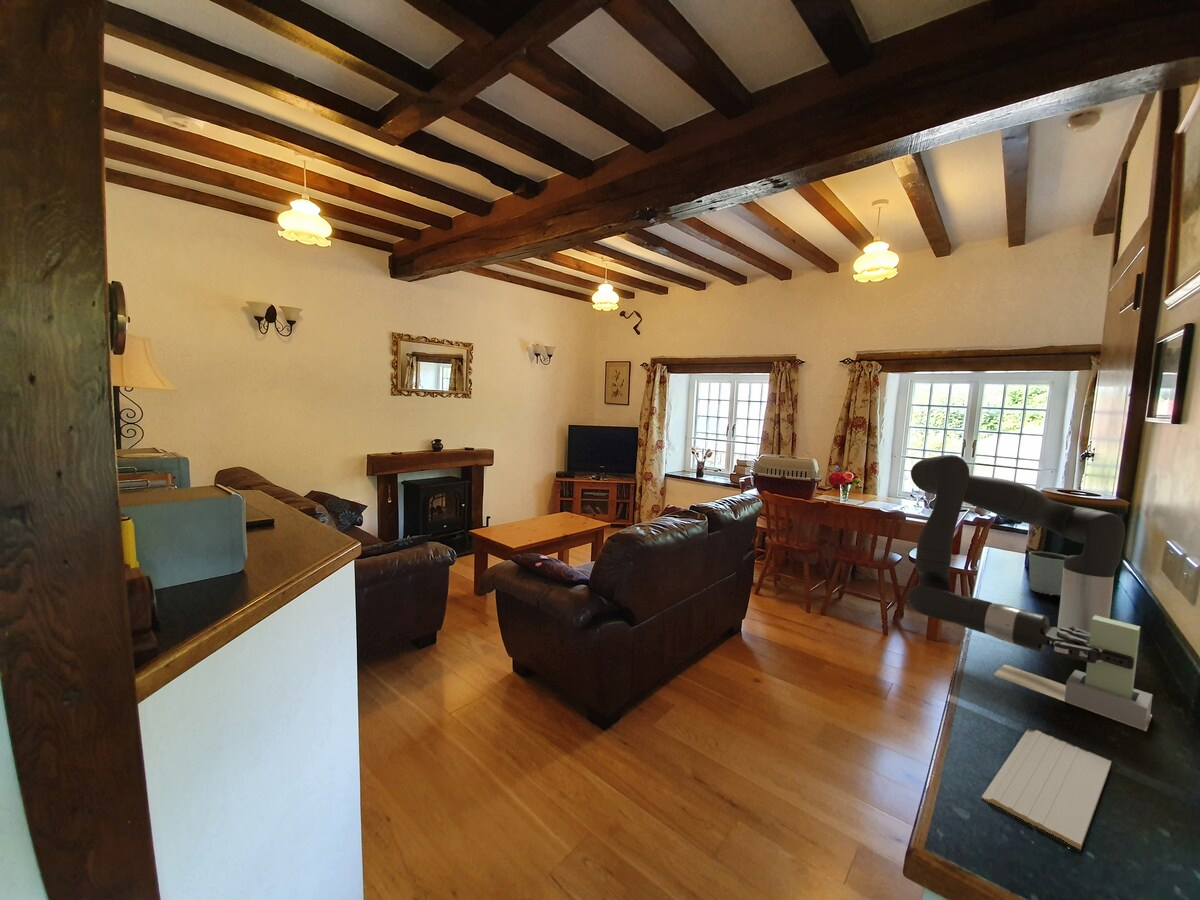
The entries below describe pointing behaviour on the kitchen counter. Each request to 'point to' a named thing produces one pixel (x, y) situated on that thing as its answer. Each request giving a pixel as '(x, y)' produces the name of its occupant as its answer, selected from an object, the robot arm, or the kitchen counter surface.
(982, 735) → the kitchen counter surface
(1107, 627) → the slat
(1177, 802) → the kitchen counter surface
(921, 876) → the kitchen counter surface
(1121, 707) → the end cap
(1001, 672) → the board
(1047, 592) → the grey-green pot
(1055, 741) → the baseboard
